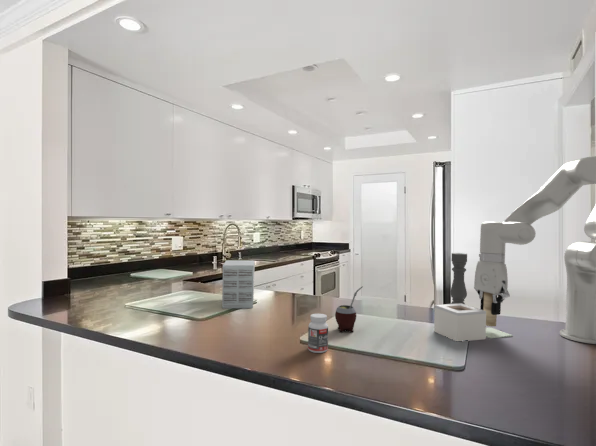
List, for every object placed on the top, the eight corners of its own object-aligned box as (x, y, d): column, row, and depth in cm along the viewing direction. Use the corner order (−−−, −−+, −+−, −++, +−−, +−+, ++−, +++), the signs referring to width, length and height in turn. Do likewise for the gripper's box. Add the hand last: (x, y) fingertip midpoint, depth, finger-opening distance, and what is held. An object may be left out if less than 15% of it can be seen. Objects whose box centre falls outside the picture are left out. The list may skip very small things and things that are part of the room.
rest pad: (490, 328, 129) (490, 327, 129) (512, 336, 120) (512, 335, 120) (469, 330, 126) (469, 329, 126) (490, 338, 117) (490, 337, 117)
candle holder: (468, 319, 140) (469, 254, 139) (451, 318, 141) (452, 253, 141) (464, 315, 146) (465, 253, 146) (448, 314, 147) (449, 252, 147)
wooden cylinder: (489, 322, 126) (490, 290, 125) (499, 326, 122) (500, 293, 122) (480, 323, 124) (481, 291, 124) (489, 326, 121) (490, 293, 120)
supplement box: (224, 299, 168) (225, 260, 167) (254, 299, 169) (254, 260, 169) (221, 308, 150) (221, 264, 150) (253, 308, 152) (254, 265, 152)
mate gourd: (330, 330, 123) (331, 286, 123) (344, 325, 129) (345, 283, 129) (349, 335, 118) (350, 289, 118) (362, 330, 124) (363, 286, 124)
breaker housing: (460, 329, 127) (461, 303, 127) (485, 339, 117) (486, 311, 117) (434, 331, 124) (434, 305, 124) (457, 342, 114) (457, 313, 114)
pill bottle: (321, 355, 101) (322, 319, 101) (304, 350, 104) (304, 316, 104) (331, 349, 106) (331, 314, 106) (314, 345, 109) (314, 311, 109)
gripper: (464, 255, 130) (463, 307, 130) (504, 261, 114) (501, 320, 114) (481, 255, 132) (480, 306, 132) (522, 261, 116) (520, 318, 116)
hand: (490, 312), depth 123 cm, fingers closed on wooden cylinder, 4 cm apart
